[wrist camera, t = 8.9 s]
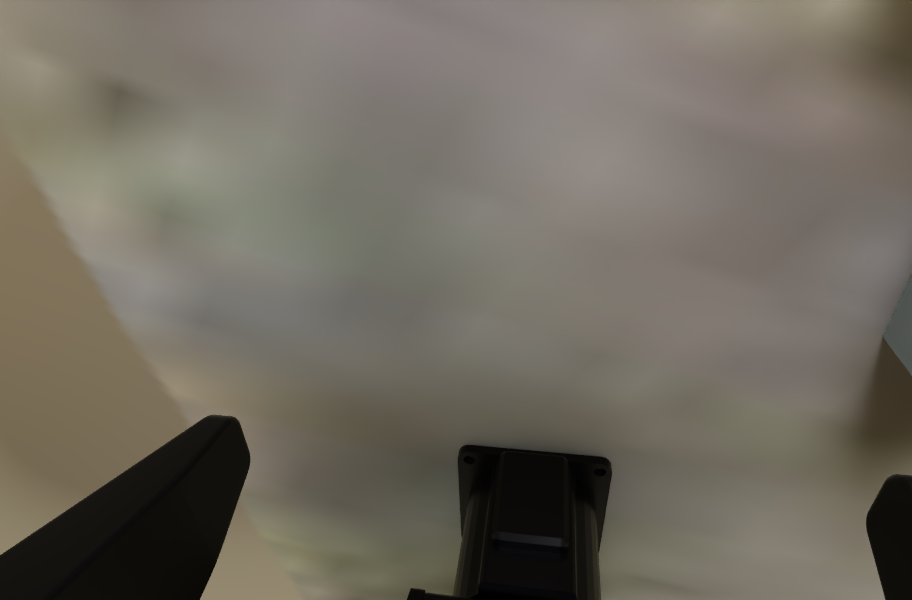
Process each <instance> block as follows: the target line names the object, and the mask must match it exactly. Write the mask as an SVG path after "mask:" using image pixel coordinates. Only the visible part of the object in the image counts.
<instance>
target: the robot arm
mask: <svg viewBox="0 0 912 600" xmlns="http://www.w3.org/2000/svg"><path fill="white" fill-rule="evenodd" d="M468 456H471V457H468ZM249 466H250V452H249V449H248V446H247V443H246V440H245V437H244V434H243V431H242V428H241V425H240V422H239V421H238V420H237V419H236V418H235V417H233V416H222V415H209V416H207V417H205V418H203V419H202V420H200V421H199V422H197V423H196V424H194V425H193V426H191V427H190V428H188V429H187V430H185V431H184V432H183V433H181V434H180V435H178V436H177V437H175V438H174V439H172V440H171V441H169V442H168V443H166V444H165V445H163V446H162V447H160V448H159V449H157V450H156V451H154V452H153V453H152V454H150V455H148V456H147V457H145V458H144V459H142V460H141V461H139V462H138V463H137V464H135V465H133V466H132V467H131V468H129V469H128V470H126V471H125V472H123V473H122V474H120V475H119V476H117V477H116V478H114V479H113V480H111V481H110V482H108V483H107V484H105V485H104V486H102V487H101V488H99V489H98V490H96V491H95V492H93V493H92V494H90V495H89V496H87V497H86V498H84V499H83V500H81V501H80V502H79V503H77V504H76V505H74V506H73V507H71V508H70V509H68V510H67V511H65V512H64V513H62V514H61V515H59V516H58V517H56V518H55V519H53V520H52V521H50V522H49V523H47V524H46V525H44V526H43V527H41V528H40V529H38V530H37V531H36V532H34V533H32V534H31V535H30V536H28V537H27V538H25V539H24V540H22V541H21V542H19V543H18V544H16V545H15V546H13V547H12V548H10V549H9V550H7V551H6V552H4V553H3V554H1V555H0V600H200V598H201V596H202V593H203V591H204V589H205V587H206V585H207V582H208V580H209V578H210V576H211V573H212V571H213V569H214V567H215V564H216V562H217V559H218V557H219V554H220V551H221V548H222V545H223V543H224V540H225V537H226V534H227V531H228V528H229V525H230V522H231V520H232V517H233V514H234V511H235V508H236V505H237V502H238V499H239V496H240V493H241V491H242V488H243V485H244V482H245V479H246V476H247V473H248V470H249ZM597 468H602V469H597ZM458 472H459V493H460V514H461V535H462V543H461V549H460V555H459V561H458V568H457V574H456V580H455V587H454V593H453V596H449V595H441V594H433V593H426V592H425V590H422V589H414V588H411V589H410V592H409V595H408V598H407V600H601V591H600V573H599V555H598V553H599V548H600V542H601V536H602V530H603V524H604V518H605V512H606V506H607V500H608V494H609V488H610V482H611V476H612V468H611V462H610V461H609V460H608V459H606V458H604V457H597V456H586V455H575V454H564V453H553V452H542V451H530V450H519V449H508V448H497V447H486V446H475V445H465V446H463V447H462V448H461V449H460V451H459V456H458ZM866 528H867V533H868V537H869V541H870V545H871V548H872V552H873V556H874V559H875V563H876V567H877V570H878V574H879V578H880V581H881V585H882V589H883V592H884V596H885V600H912V476H910V475H899V474H896V475H892V476H890V477H888V478H887V479H886V481H885V482H884V484H883V486H882V488H881V490H880V491H879V493H878V495H877V497H876V499H875V500H874V502H873V504H872V506H871V508H870V510H869V511H868V514H867V519H866Z"/></svg>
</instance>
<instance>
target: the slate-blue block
mask: <svg viewBox="0 0 912 600" xmlns="http://www.w3.org/2000/svg"><path fill="white" fill-rule="evenodd" d="M883 338H884V339H885V341H886V342H887V343H888V345H889V346H890V347H891V349H892V350H893V351H894V353H895V354H896V356H897V357H898V358H899V360H900V361H901V362H902V364H903V365H904V366H905V368H906V369H907V370H908V372H909V373H910V374H911V376H912V273H911V276H910V278H909V280H908V282H907V284H906V287H905V289H904V291H903V293H902V295H901V298H900V300H899V302H898V304H897V306H896V309H895V311H894V313H893V315H892V317H891V320H890V322H889V324H888V326H887V328H886V331H885V333H884V335H883Z"/></svg>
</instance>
